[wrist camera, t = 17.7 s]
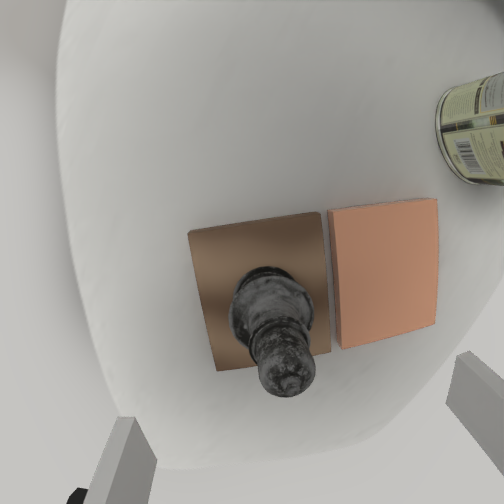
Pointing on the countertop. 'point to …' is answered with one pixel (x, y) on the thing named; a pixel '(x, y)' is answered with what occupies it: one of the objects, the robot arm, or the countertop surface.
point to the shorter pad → (253, 256)
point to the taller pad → (384, 269)
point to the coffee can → (474, 130)
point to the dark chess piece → (275, 328)
